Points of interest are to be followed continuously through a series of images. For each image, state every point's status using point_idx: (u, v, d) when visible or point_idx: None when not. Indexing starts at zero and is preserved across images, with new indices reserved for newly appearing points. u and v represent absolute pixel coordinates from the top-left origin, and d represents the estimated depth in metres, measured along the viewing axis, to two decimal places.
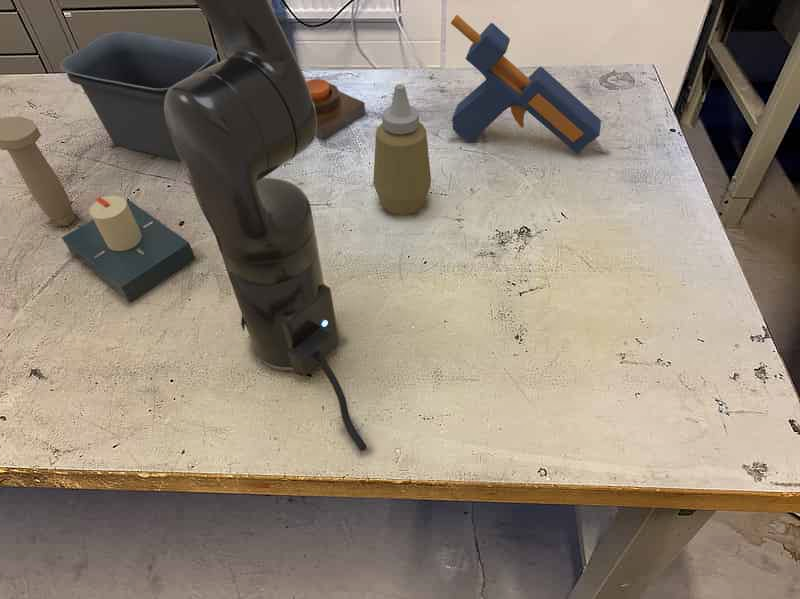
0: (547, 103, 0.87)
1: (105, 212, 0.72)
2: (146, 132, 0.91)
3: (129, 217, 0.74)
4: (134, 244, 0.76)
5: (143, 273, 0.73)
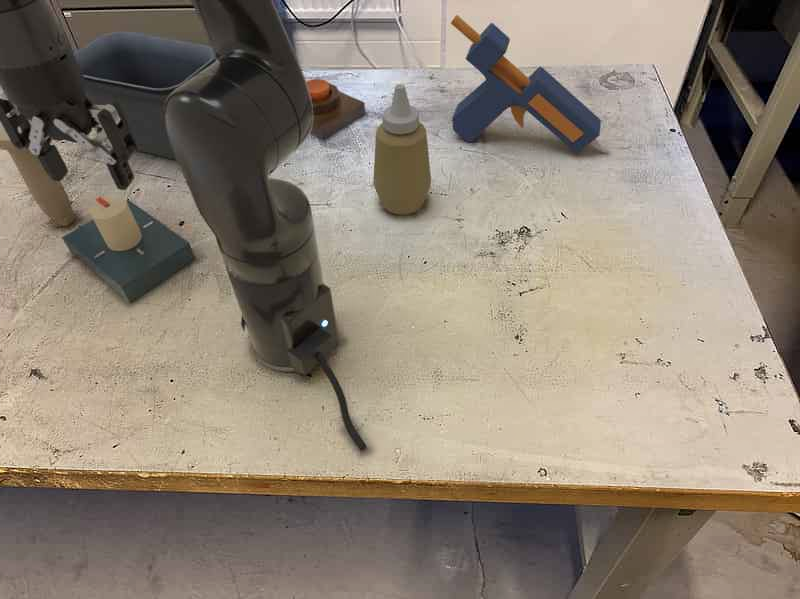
0: (547, 104, 0.87)
1: (105, 212, 0.72)
2: (146, 132, 0.91)
3: (129, 217, 0.74)
4: (134, 244, 0.76)
5: (143, 273, 0.73)
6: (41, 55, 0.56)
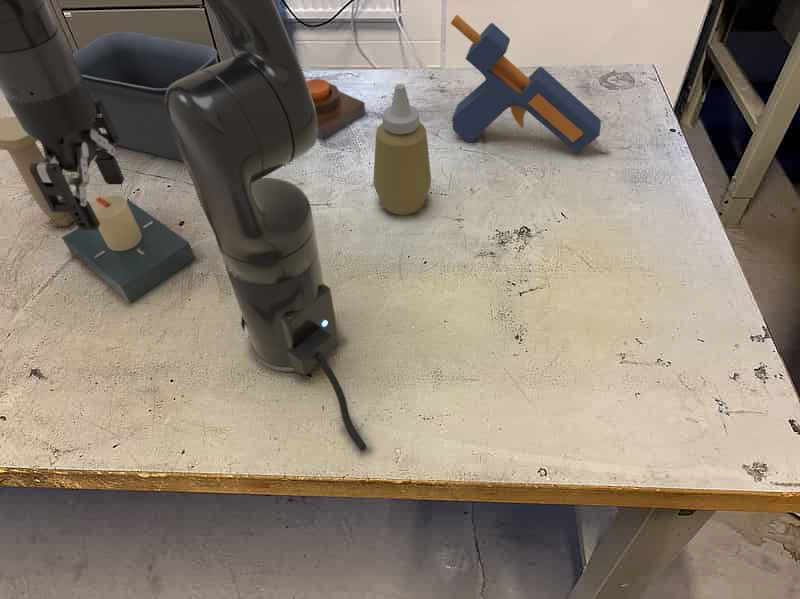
0: (547, 103, 0.87)
1: (105, 212, 0.72)
2: (146, 132, 0.91)
3: (129, 217, 0.74)
4: (134, 244, 0.76)
5: (143, 273, 0.73)
6: None
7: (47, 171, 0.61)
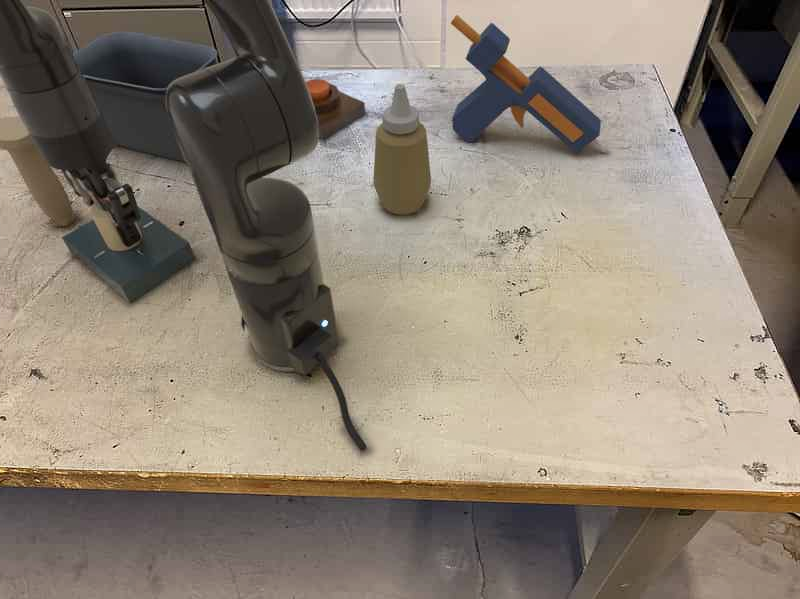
0: (547, 104, 0.87)
1: None
2: (146, 132, 0.91)
3: None
4: (134, 244, 0.76)
5: (143, 273, 0.73)
6: None
7: (128, 192, 0.67)
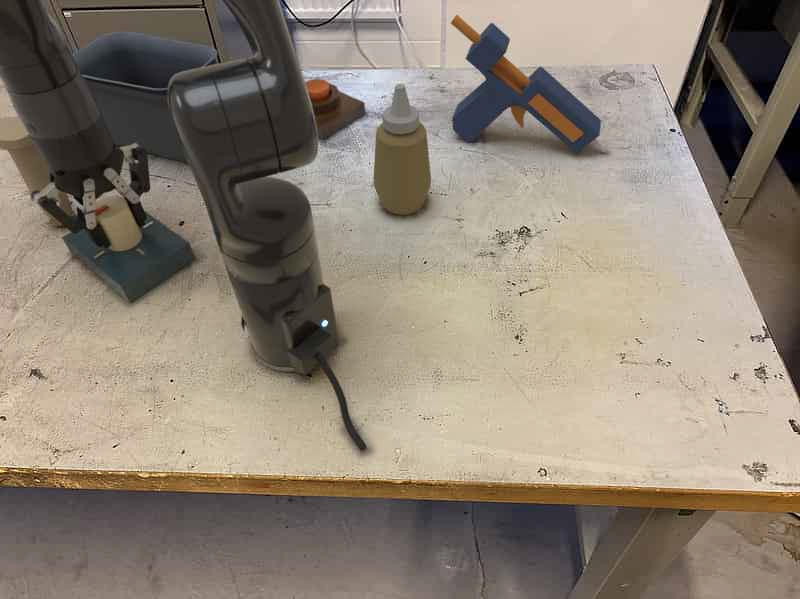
0: (547, 104, 0.87)
1: (117, 206, 0.73)
2: (146, 132, 0.91)
3: None
4: None
5: (143, 273, 0.73)
6: None
7: None
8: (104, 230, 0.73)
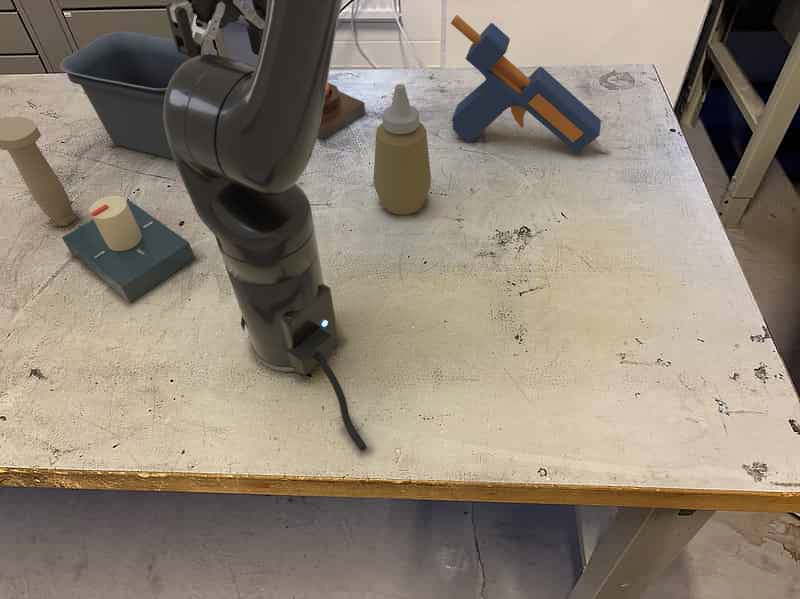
0: (547, 104, 0.87)
1: (117, 206, 0.73)
2: (146, 132, 0.91)
3: None
4: None
5: (143, 273, 0.73)
6: None
7: None
8: (104, 230, 0.73)
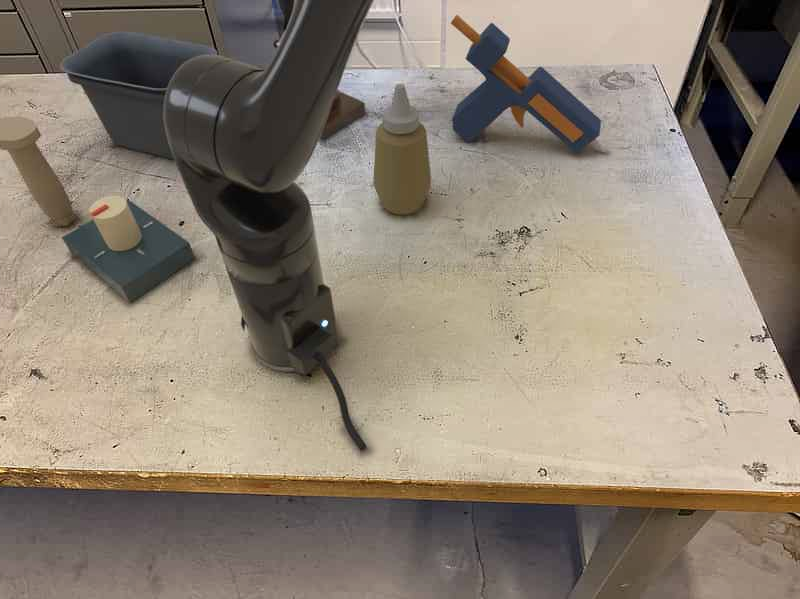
0: (547, 103, 0.87)
1: (117, 206, 0.73)
2: (146, 132, 0.91)
3: None
4: None
5: (143, 273, 0.73)
6: None
7: None
8: (104, 230, 0.73)
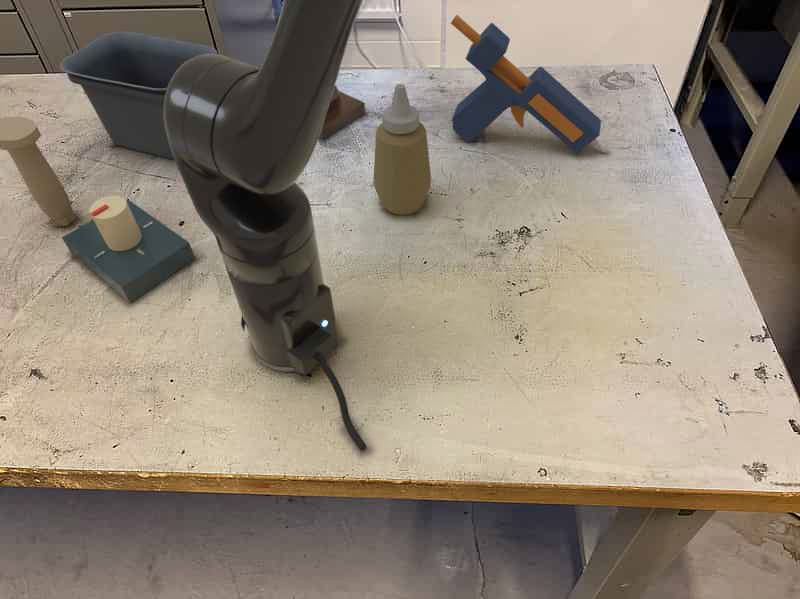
0: (547, 104, 0.87)
1: (117, 206, 0.73)
2: (146, 132, 0.91)
3: None
4: None
5: (143, 273, 0.73)
6: None
7: None
8: (104, 230, 0.73)
